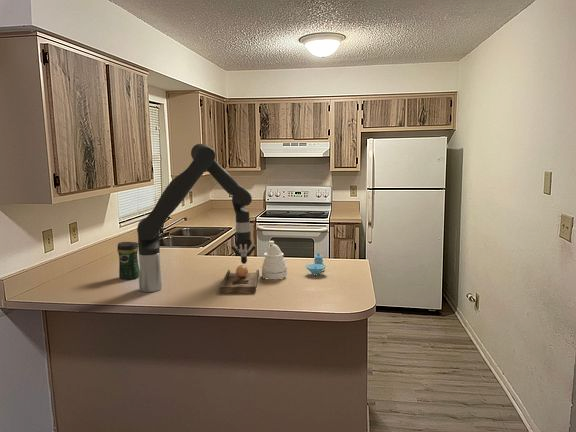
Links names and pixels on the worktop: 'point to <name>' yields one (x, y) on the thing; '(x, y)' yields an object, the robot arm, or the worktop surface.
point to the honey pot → (274, 263)
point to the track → (233, 278)
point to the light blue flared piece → (316, 265)
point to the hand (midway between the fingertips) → (244, 263)
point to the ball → (241, 271)
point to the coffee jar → (128, 260)
